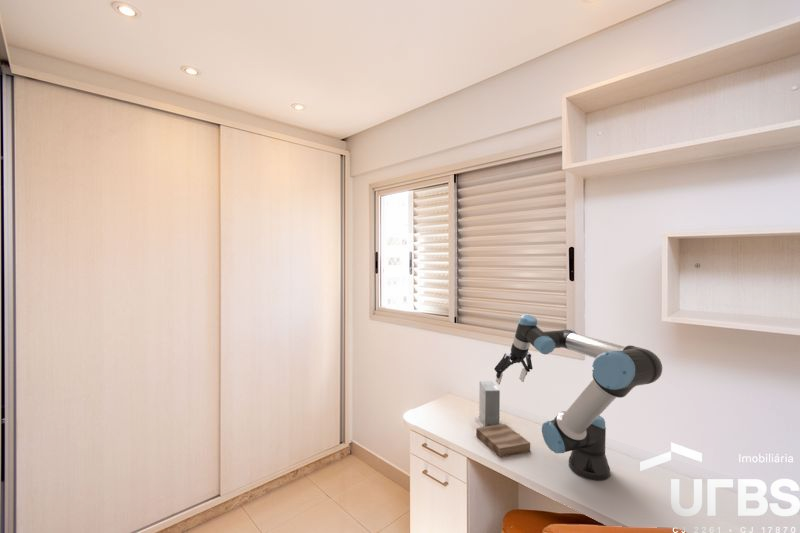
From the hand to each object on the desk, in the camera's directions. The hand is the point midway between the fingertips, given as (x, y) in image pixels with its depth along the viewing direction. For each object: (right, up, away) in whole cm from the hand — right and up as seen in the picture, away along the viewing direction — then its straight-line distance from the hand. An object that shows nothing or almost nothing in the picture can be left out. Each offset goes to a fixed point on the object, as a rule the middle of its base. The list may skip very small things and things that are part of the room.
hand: (509, 381), depth 175 cm
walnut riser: (-6, -27, -8) cm, 29 cm away
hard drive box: (-7, -27, +14) cm, 31 cm away
